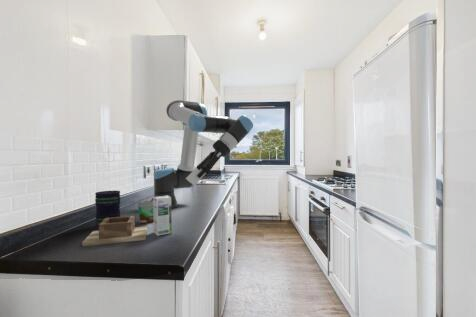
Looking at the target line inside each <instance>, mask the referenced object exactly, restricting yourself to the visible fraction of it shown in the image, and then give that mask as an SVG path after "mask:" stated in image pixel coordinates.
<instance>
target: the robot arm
mask: <svg viewBox="0 0 476 317" xmlns="http://www.w3.org/2000/svg"><path fill="white" fill-rule="evenodd" d="M207 110H208V109H207V108H206V106H205V105H204V103H200V102H196V101H188V100H182V99H181V100H173V101H171V102H169V103H168V105H167V107H166V110H165V111H166V115H167V117H168V118H169V119H171V120H173V121H175V122H181V124H182V125H183V127H184V129H183V130H184V131H183V138H182V145H181V154H180V162H179V164H178V165H177V169H175V168H174V167H166V168H161V169H157V170H155V171H154V174H153V197H158V196H170V197H171V209H174V207H175V208H178V200H177V198H176V196H175V195H176V194H175V190H177V189H190V188H194V187H195V186H196V185H197V184H198V183H199V182H200V180H201V179H202V178H203V177H204V176H206V174H207V173H210V172H211V170H212V169H213V167H214V166H215V165H216V164H217V162H219V160H220V159H221V158H222V157H223V158H226V157H227V156H228V155H229V154H230V153H231V151H233V150H234V149H236V148H237V145H238V144H239V143H240V142H241V141H242V140H243V139H245V137H246V136H248V134H249V133H250V131H251V130H252V129H253V128H254V123H253V121H252V120H251V119H250V118H249V117H248V116H246V115H245V114H244V115H243V114H242V115H240V116H239V117H238V118H237V119H236V118H232V117H229V116H226V115H225V116H224V115H222V116H220V115H219V116H217V115H209V114H208V111H207ZM199 133H213V134H214V133H215V134H221V136H219V138H218V139H216V141H215V142H213V144H212V148H213V149H214V151H211V152H210V153H209V154H208V155H207V156H206V157H204V159H202V161H201V162H200V163H198V164H197V165H196V166H195V160H196V156H197V147H198V146H197V145H198V140H199V139H198V138H199Z"/></svg>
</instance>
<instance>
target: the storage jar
mask: <svg viewBox="0 0 476 317" xmlns="http://www.w3.org/2000/svg"><path fill="white" fill-rule="evenodd" d="M94 194H95V198H94V201H95V202H94V203H95V209H96V211H95V212H96V213H95V228H96V229H98V230H99V224H100V223H101V222H102V221H103V220H104V219H105V218H112V217H122V216H121V210H120V207H121V206H120V204H121V191H120V190H103V191H102V190H101V191H96V192H95V193H94Z"/></svg>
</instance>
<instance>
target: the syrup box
mask: <svg viewBox="0 0 476 317" xmlns="http://www.w3.org/2000/svg"><path fill="white" fill-rule="evenodd" d="M152 198H153V213H154V222H153V232H154V234H155V235H156V236H157V237H159V236H163V235H164V236H165V235H170V234H172V232H173V230H172V229H173V227H172V226H173V225H172V224H173V223H172V208H171V197H170V196H158V197H154V196H153V197H152Z"/></svg>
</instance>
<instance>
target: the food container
mask: <svg viewBox="0 0 476 317" xmlns="http://www.w3.org/2000/svg"><path fill="white" fill-rule="evenodd" d="M137 208H138V218H139V225H146V224H152V223H153V224H154V213H153V197H152V198H151V199H150V200H146V201H143V202H142V201H140V202H139V201H138V202H137Z"/></svg>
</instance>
